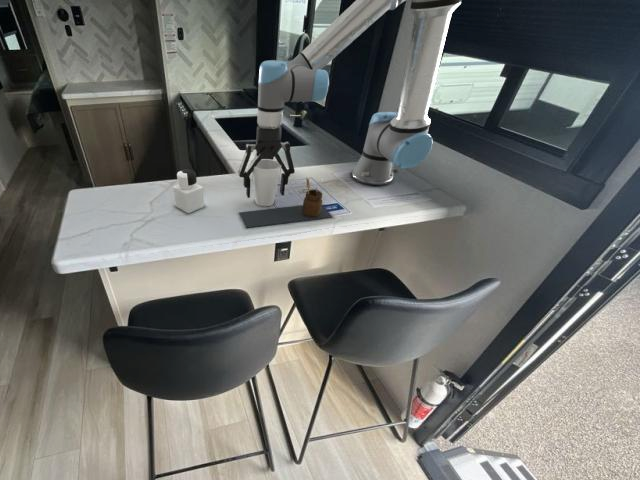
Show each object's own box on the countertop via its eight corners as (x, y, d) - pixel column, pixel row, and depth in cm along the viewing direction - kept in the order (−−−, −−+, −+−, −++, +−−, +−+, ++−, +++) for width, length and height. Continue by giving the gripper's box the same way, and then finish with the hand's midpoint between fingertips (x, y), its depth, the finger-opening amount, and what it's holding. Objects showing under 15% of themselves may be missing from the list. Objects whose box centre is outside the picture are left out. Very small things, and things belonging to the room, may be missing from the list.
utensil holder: (323, 216, 105) (330, 180, 97) (305, 218, 104) (311, 182, 96) (315, 207, 109) (321, 172, 101) (298, 210, 108) (303, 174, 100)
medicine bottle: (191, 199, 114) (188, 165, 106) (204, 206, 110) (202, 171, 102) (175, 206, 110) (170, 171, 102) (188, 214, 107) (184, 178, 98)
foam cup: (276, 209, 109) (279, 171, 100) (249, 207, 110) (250, 168, 101) (279, 197, 116) (282, 160, 107) (253, 194, 117) (255, 158, 108)
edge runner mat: (320, 204, 112) (320, 203, 112) (332, 217, 105) (332, 216, 105) (239, 213, 107) (239, 212, 107) (246, 228, 100) (246, 227, 100)
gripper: (303, 120, 100) (294, 187, 115) (228, 123, 97) (229, 192, 112) (311, 127, 95) (301, 197, 110) (232, 131, 92) (233, 202, 107)
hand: (265, 194), depth 111 cm, fingers open, 11 cm apart
